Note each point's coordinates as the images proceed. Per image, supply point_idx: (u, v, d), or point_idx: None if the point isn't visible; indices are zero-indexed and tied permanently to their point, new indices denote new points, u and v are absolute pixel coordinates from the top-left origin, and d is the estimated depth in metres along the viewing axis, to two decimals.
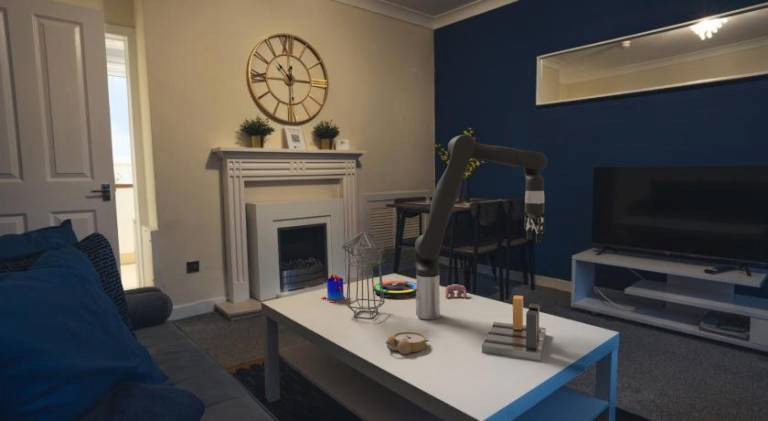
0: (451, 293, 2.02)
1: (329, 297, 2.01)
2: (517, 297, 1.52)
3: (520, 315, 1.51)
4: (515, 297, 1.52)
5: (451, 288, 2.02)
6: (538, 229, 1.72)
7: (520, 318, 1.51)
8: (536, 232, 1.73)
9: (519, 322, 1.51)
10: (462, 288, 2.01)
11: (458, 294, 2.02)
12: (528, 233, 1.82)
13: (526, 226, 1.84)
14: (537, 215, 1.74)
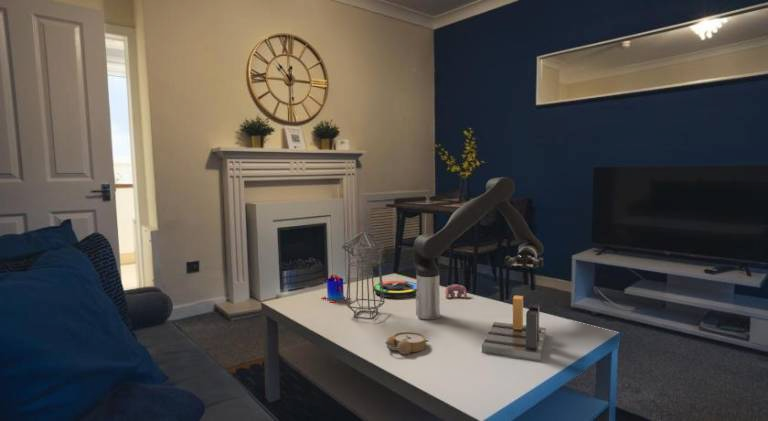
0: (451, 293, 2.02)
1: (329, 297, 2.01)
2: (517, 297, 1.52)
3: (520, 315, 1.51)
4: (515, 297, 1.52)
5: (451, 288, 2.01)
6: (540, 259, 1.64)
7: (520, 318, 1.51)
8: (536, 260, 1.63)
9: (519, 322, 1.51)
10: (462, 288, 2.01)
11: (458, 294, 2.01)
12: (511, 261, 1.65)
13: (507, 259, 1.69)
14: (535, 258, 1.70)
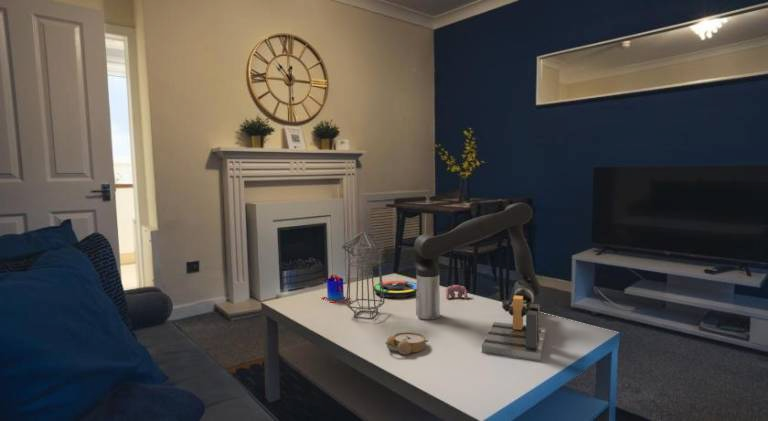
0: (452, 294, 2.01)
1: (329, 297, 2.01)
2: (517, 297, 1.52)
3: (520, 315, 1.51)
4: (515, 297, 1.52)
5: (452, 289, 2.00)
6: None
7: (520, 318, 1.51)
8: (525, 306, 1.53)
9: (519, 322, 1.51)
10: (463, 289, 2.00)
11: (459, 295, 2.00)
12: None
13: (508, 305, 1.56)
14: (531, 303, 1.59)
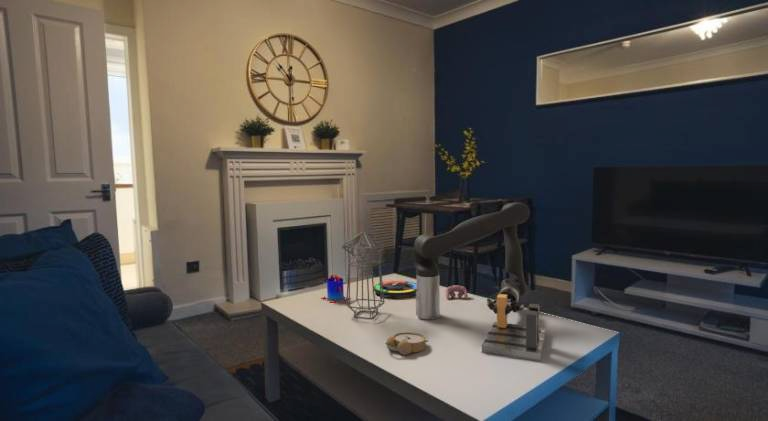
0: (452, 294, 2.00)
1: (329, 297, 2.01)
2: (501, 296, 1.54)
3: (504, 313, 1.53)
4: (499, 296, 1.54)
5: (452, 289, 2.00)
6: (514, 304, 1.56)
7: (504, 316, 1.53)
8: (509, 305, 1.55)
9: (503, 320, 1.53)
10: (463, 289, 1.99)
11: (459, 295, 2.00)
12: None
13: (493, 304, 1.58)
14: None
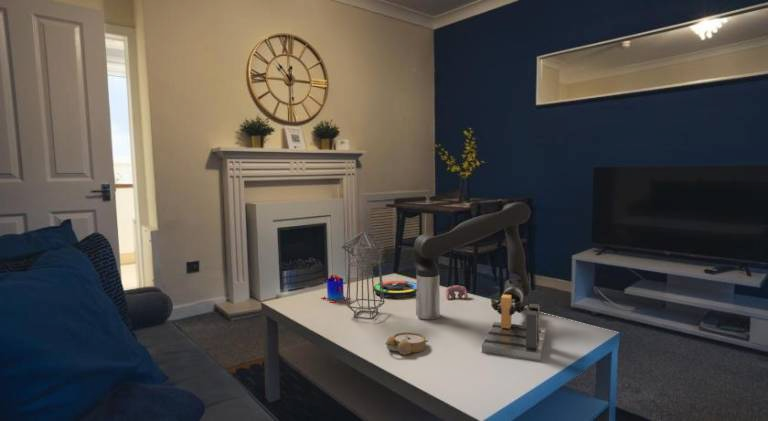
0: (452, 294, 2.00)
1: (329, 297, 2.01)
2: (505, 296, 1.54)
3: (508, 314, 1.52)
4: (503, 296, 1.54)
5: (452, 289, 2.00)
6: (519, 305, 1.55)
7: (508, 317, 1.52)
8: (513, 305, 1.54)
9: (507, 321, 1.53)
10: (463, 289, 1.99)
11: (459, 295, 2.00)
12: None
13: (497, 304, 1.58)
14: (520, 302, 1.61)
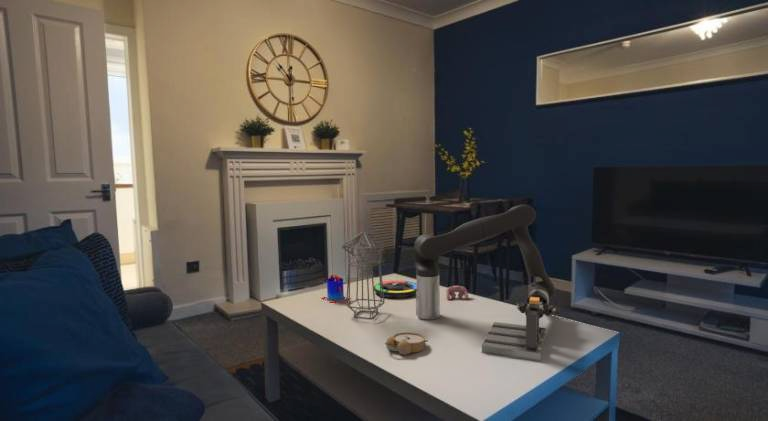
0: (452, 294, 2.00)
1: (329, 297, 2.01)
2: (533, 299, 1.50)
3: None
4: (531, 299, 1.50)
5: (452, 289, 1.99)
6: (547, 308, 1.51)
7: None
8: (541, 308, 1.51)
9: None
10: (463, 289, 1.99)
11: (459, 295, 1.99)
12: None
13: (524, 307, 1.54)
14: None
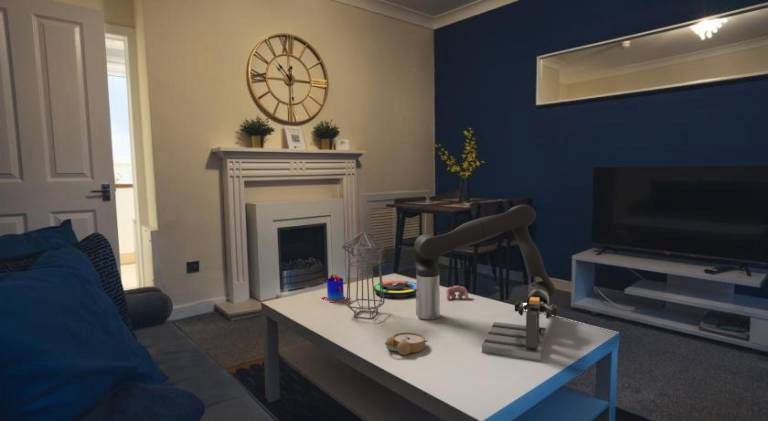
0: (452, 295, 1.99)
1: (329, 297, 2.01)
2: (533, 299, 1.50)
3: None
4: (531, 299, 1.50)
5: (452, 290, 1.99)
6: (554, 307, 1.51)
7: None
8: (549, 308, 1.51)
9: None
10: (463, 290, 1.98)
11: (459, 296, 1.99)
12: (522, 308, 1.53)
13: (518, 305, 1.56)
14: (547, 304, 1.57)
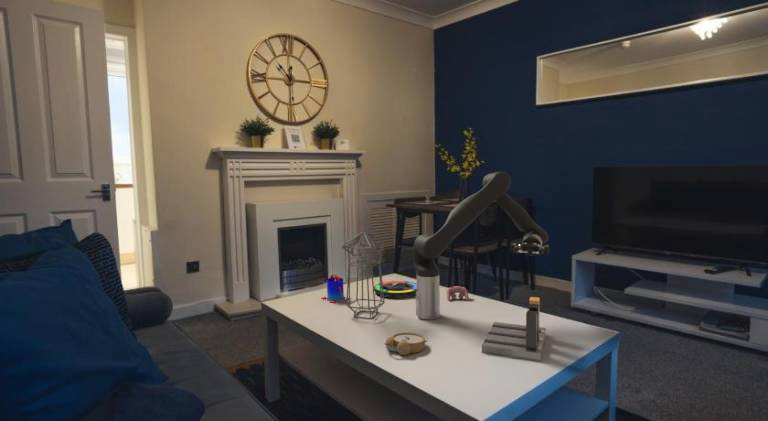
0: (453, 295, 1.99)
1: (329, 297, 2.01)
2: (533, 299, 1.50)
3: None
4: (531, 299, 1.50)
5: (453, 290, 1.98)
6: (546, 246, 1.64)
7: None
8: None
9: None
10: (464, 290, 1.98)
11: (460, 296, 1.98)
12: (517, 248, 1.66)
13: (513, 246, 1.69)
14: None
